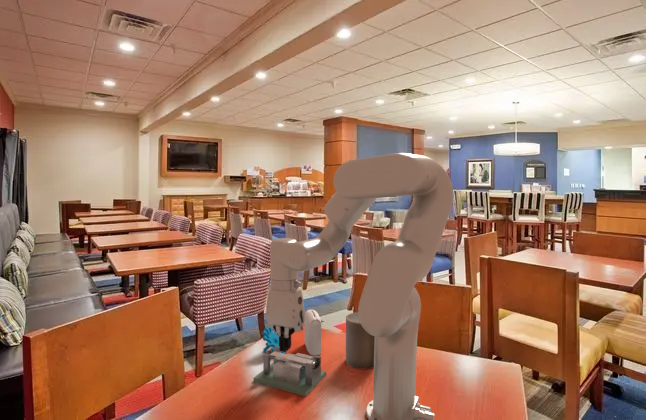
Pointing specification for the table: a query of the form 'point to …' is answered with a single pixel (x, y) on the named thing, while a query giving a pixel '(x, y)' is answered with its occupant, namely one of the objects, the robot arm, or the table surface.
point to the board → (300, 390)
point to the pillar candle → (358, 344)
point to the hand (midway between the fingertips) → (285, 349)
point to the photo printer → (313, 332)
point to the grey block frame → (293, 369)
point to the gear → (271, 339)
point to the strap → (292, 358)
